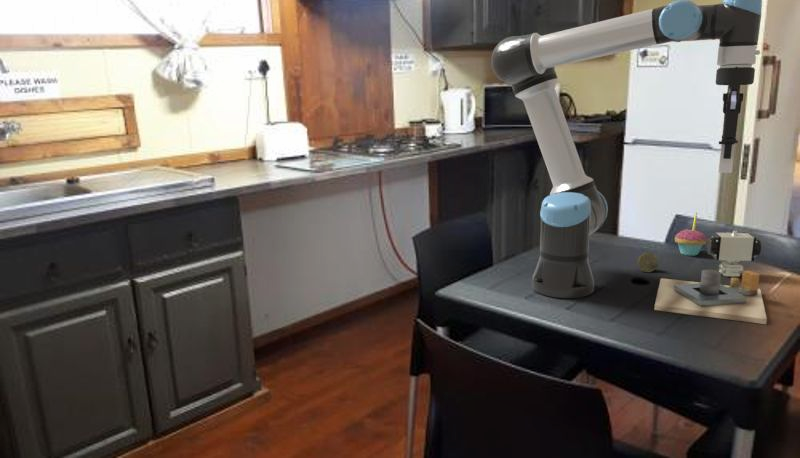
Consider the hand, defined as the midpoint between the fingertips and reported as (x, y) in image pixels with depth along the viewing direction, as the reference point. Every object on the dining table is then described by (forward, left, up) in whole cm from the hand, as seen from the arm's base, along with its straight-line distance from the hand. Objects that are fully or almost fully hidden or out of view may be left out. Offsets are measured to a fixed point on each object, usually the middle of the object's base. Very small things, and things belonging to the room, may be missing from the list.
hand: (725, 172), depth 143 cm
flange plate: (+1, -6, -28) cm, 29 cm away
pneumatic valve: (+4, +16, -30) cm, 34 cm away
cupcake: (-6, +33, -30) cm, 45 cm away
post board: (-1, -7, -29) cm, 30 cm away
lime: (-16, +12, -30) cm, 36 cm away
